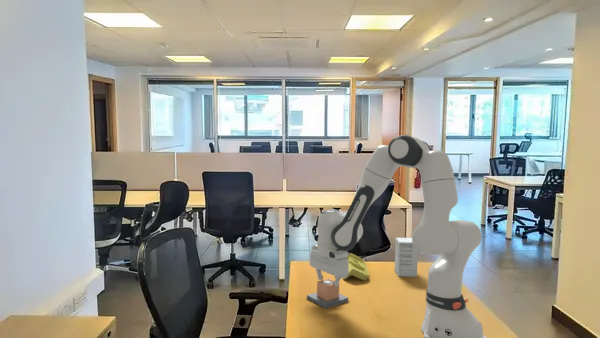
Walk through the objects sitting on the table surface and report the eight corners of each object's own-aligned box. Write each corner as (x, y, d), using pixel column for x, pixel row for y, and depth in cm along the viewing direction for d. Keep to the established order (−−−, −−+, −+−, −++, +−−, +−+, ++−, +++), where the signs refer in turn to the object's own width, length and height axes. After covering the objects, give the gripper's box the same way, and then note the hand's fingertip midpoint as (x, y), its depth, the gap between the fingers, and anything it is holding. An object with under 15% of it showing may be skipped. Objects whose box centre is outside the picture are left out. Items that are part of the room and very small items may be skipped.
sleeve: (338, 297, 172) (339, 282, 171) (327, 300, 168) (327, 286, 167) (328, 292, 177) (328, 278, 176) (316, 295, 173) (317, 281, 173)
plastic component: (369, 276, 194) (350, 267, 194) (362, 290, 195) (342, 280, 195) (365, 260, 214) (347, 251, 213) (358, 272, 215) (341, 263, 215)
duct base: (348, 301, 171) (348, 283, 171) (325, 308, 164) (326, 290, 164) (328, 292, 181) (329, 275, 180) (306, 298, 174) (307, 280, 173)
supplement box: (417, 277, 201) (418, 242, 199) (397, 276, 201) (399, 242, 199) (412, 270, 210) (414, 237, 208) (394, 270, 210) (395, 237, 209)
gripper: (306, 245, 176) (306, 277, 178) (339, 256, 160) (339, 291, 161) (317, 242, 180) (317, 274, 181) (351, 253, 164) (350, 288, 165)
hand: (327, 282), depth 171 cm, fingers open, 8 cm apart
